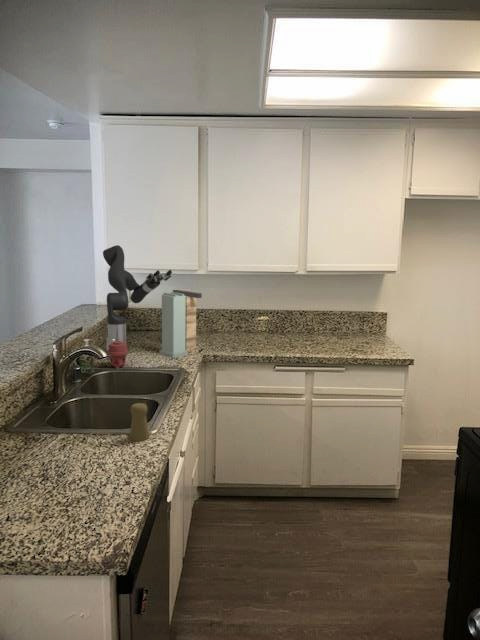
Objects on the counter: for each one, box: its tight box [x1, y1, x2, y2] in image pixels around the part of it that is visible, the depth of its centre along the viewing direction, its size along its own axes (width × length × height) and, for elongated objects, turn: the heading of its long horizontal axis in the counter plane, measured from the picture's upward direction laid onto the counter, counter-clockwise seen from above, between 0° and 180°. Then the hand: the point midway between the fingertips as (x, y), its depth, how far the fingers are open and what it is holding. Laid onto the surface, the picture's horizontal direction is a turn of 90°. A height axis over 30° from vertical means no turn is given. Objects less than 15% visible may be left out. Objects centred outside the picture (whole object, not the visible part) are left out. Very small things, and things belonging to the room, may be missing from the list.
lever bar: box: [172, 289, 203, 299], centre depth 270 cm, size 22×2×2 cm, turn 46°
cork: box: [129, 402, 150, 443], centre depth 151 cm, size 6×6×11 cm
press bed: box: [185, 296, 197, 351], centre depth 273 cm, size 10×7×30 cm
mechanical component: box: [106, 341, 129, 369], centre depth 232 cm, size 12×10×10 cm
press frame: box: [158, 291, 189, 359], centre depth 257 cm, size 12×10×33 cm
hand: (165, 271), depth 278 cm, fingers open, 8 cm apart
